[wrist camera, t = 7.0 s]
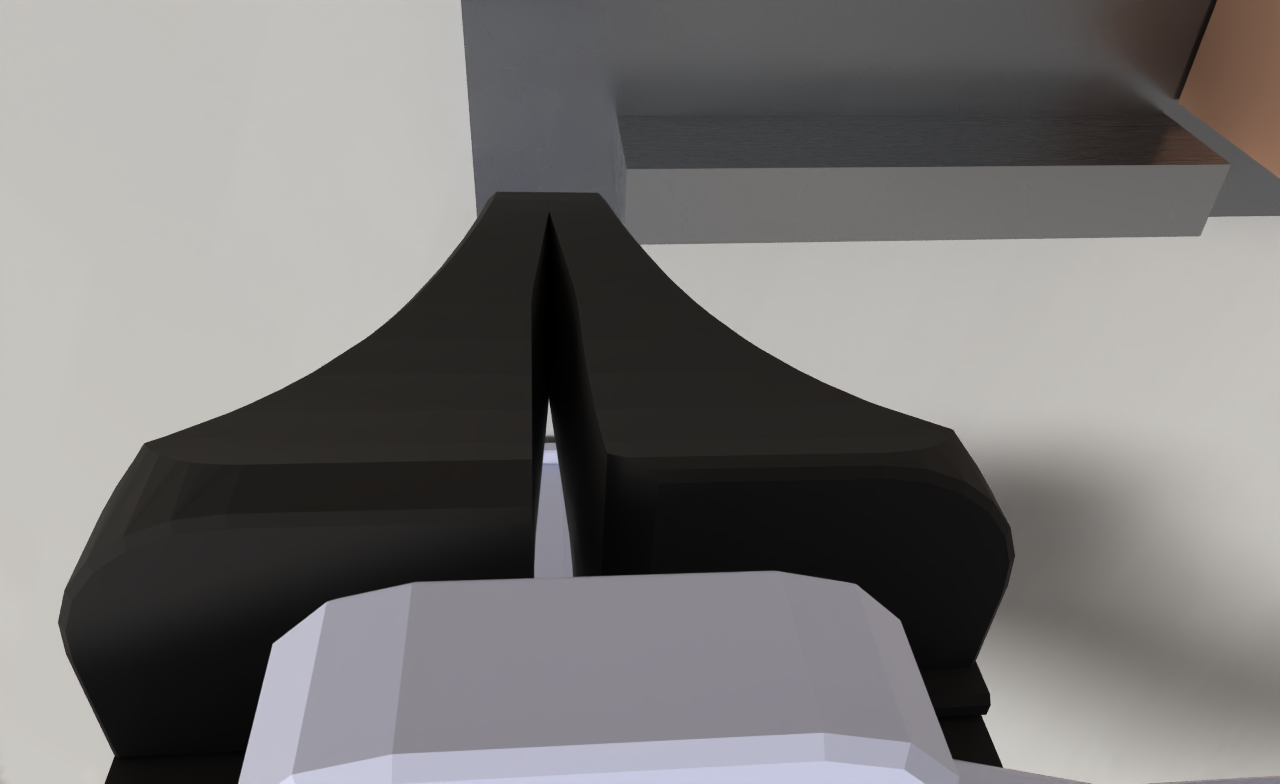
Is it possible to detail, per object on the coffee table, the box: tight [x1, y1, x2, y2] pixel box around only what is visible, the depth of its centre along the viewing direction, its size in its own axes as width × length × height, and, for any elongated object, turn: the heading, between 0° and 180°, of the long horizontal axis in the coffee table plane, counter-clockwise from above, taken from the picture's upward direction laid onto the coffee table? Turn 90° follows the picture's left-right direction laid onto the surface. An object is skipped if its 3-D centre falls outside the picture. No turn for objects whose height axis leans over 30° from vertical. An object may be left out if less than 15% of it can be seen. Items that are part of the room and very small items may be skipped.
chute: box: [461, 0, 1280, 245], centre depth 19 cm, size 10×22×4 cm, turn 88°
